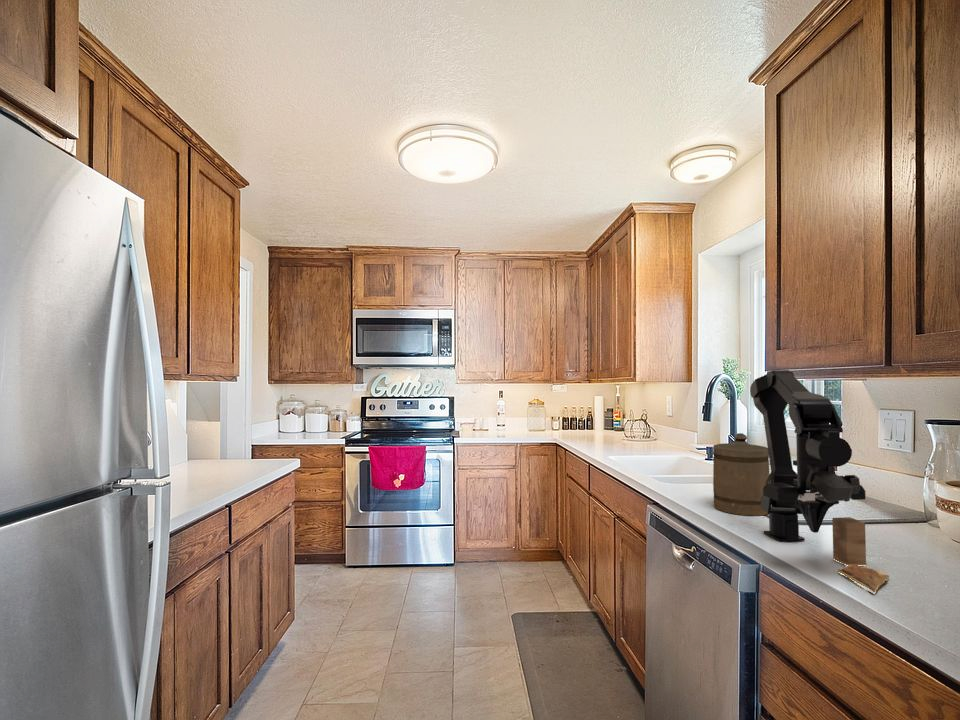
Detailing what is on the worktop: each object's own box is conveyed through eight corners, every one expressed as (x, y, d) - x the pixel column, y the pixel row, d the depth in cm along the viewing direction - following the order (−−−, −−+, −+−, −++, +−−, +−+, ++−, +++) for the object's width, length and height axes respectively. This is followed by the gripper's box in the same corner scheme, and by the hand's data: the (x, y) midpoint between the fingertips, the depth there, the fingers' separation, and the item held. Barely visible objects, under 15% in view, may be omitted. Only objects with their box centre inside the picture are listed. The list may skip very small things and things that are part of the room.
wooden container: (754, 502, 158) (752, 430, 158) (781, 516, 143) (779, 436, 143) (705, 502, 158) (704, 430, 158) (727, 516, 143) (726, 437, 144)
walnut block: (833, 560, 110) (832, 517, 111) (851, 559, 111) (850, 517, 111) (847, 567, 106) (846, 523, 107) (866, 566, 107) (865, 522, 107)
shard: (874, 598, 93) (874, 588, 93) (826, 585, 99) (825, 575, 99) (891, 582, 100) (891, 573, 100) (845, 570, 106) (844, 561, 106)
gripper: (795, 466, 100) (797, 546, 100) (887, 463, 101) (889, 543, 101) (760, 456, 111) (762, 528, 111) (844, 454, 112) (845, 526, 112)
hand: (814, 532), depth 108 cm, fingers closed
